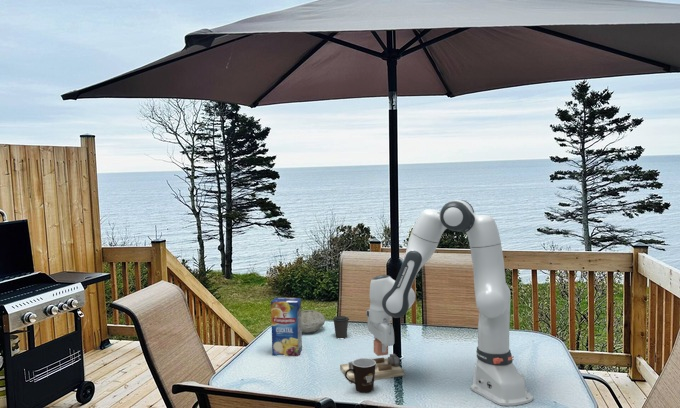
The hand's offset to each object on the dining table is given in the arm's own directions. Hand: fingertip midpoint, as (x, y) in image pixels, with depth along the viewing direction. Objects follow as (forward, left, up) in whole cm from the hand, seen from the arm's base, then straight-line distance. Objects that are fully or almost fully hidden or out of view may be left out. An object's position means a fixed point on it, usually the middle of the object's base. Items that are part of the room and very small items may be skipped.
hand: (380, 349), depth 195 cm
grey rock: (+61, +16, -9) cm, 64 cm away
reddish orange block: (0, 0, -2) cm, 2 cm away
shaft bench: (0, +4, -9) cm, 10 cm away
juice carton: (+33, +32, -9) cm, 47 cm away
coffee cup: (+45, +3, -9) cm, 46 cm away
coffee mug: (-13, +13, -9) cm, 21 cm away
